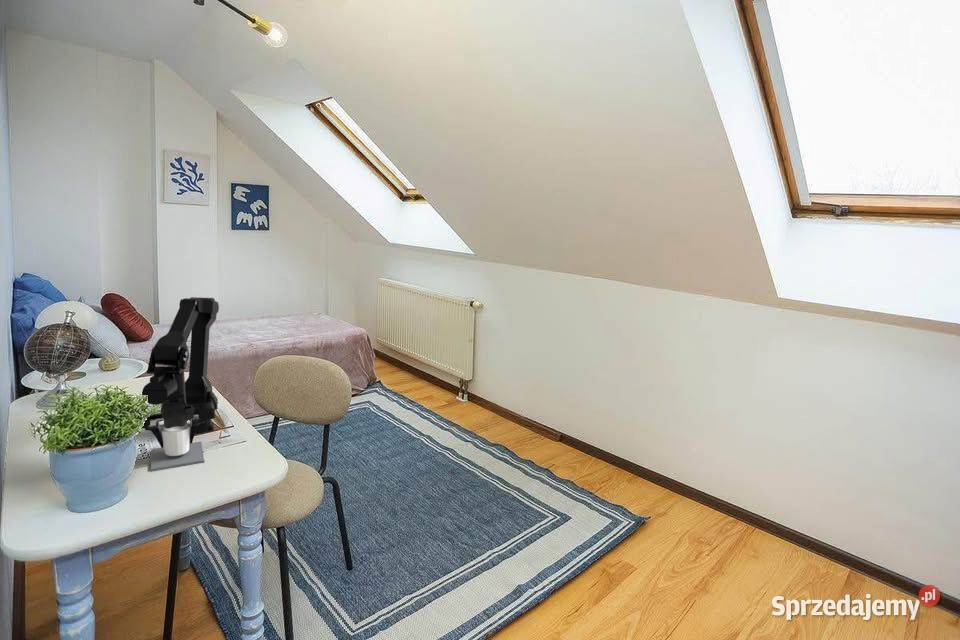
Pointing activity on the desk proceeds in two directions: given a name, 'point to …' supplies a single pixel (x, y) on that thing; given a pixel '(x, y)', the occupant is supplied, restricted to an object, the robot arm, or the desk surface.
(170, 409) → the robot arm
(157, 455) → the coaster mat
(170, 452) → the white faceted cylinder
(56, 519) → the desk surface
